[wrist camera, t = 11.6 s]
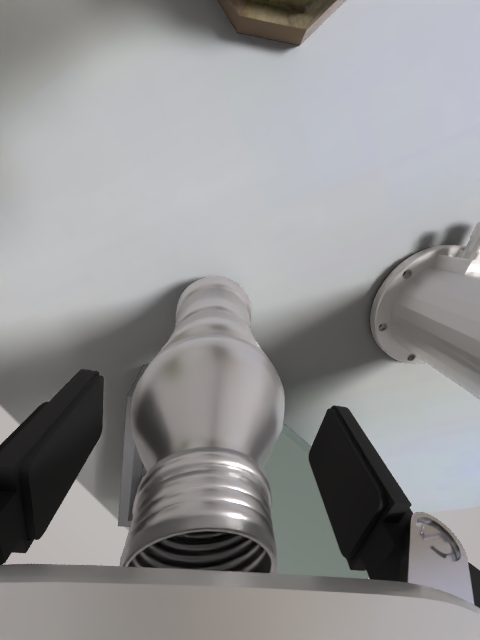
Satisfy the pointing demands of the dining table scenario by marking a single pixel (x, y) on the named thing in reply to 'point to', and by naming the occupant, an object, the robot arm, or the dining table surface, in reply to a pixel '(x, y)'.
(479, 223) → the robot arm
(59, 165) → the dining table surface
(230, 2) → the ornate pedestal stand
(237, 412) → the plastic bottle
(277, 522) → the cover
